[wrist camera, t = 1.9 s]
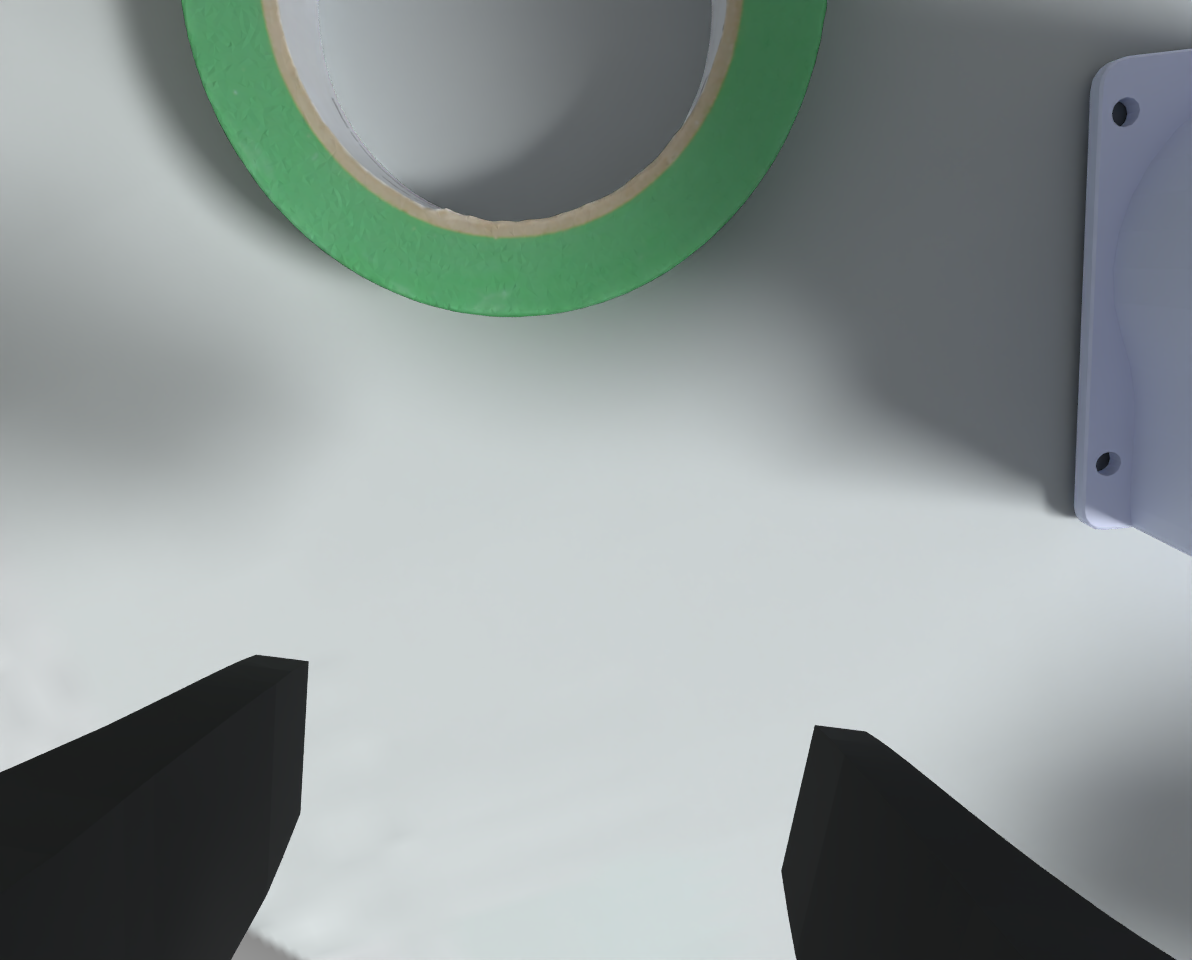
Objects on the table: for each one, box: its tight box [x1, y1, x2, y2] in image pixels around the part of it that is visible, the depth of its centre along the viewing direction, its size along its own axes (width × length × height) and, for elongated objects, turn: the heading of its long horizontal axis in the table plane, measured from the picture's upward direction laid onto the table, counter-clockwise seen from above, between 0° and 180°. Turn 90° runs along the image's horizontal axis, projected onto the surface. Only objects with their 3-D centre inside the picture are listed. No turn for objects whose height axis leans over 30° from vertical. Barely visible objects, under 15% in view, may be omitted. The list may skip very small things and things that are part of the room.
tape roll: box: [181, 0, 827, 317], centre depth 15 cm, size 11×11×3 cm
